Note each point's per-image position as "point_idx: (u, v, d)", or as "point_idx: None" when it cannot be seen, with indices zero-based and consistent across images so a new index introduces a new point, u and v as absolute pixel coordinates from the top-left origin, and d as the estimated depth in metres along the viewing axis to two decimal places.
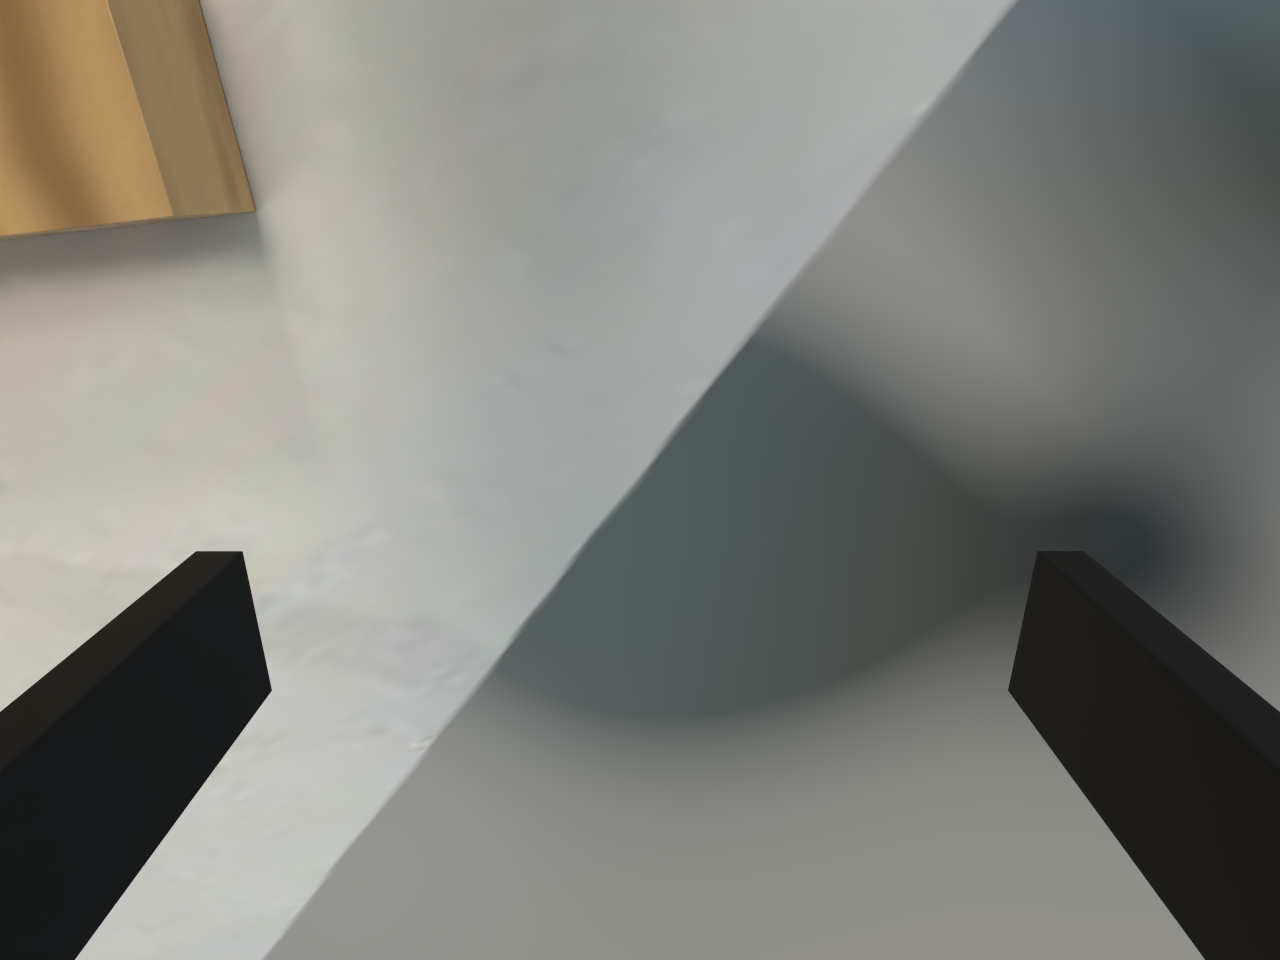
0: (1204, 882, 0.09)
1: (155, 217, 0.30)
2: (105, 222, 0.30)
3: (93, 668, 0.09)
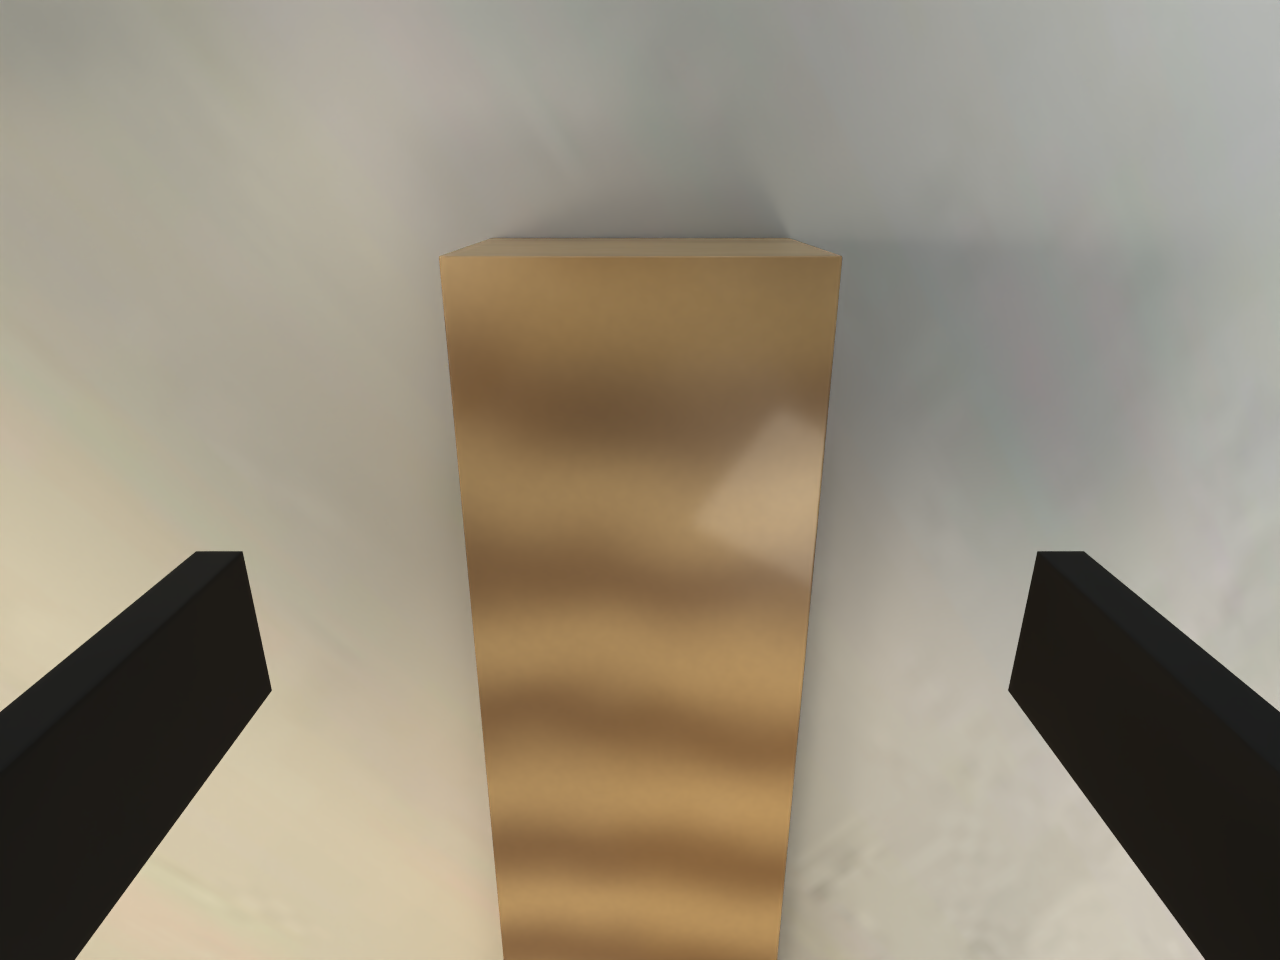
0: (1205, 882, 0.09)
1: (838, 287, 0.19)
2: (829, 368, 0.20)
3: (93, 668, 0.09)
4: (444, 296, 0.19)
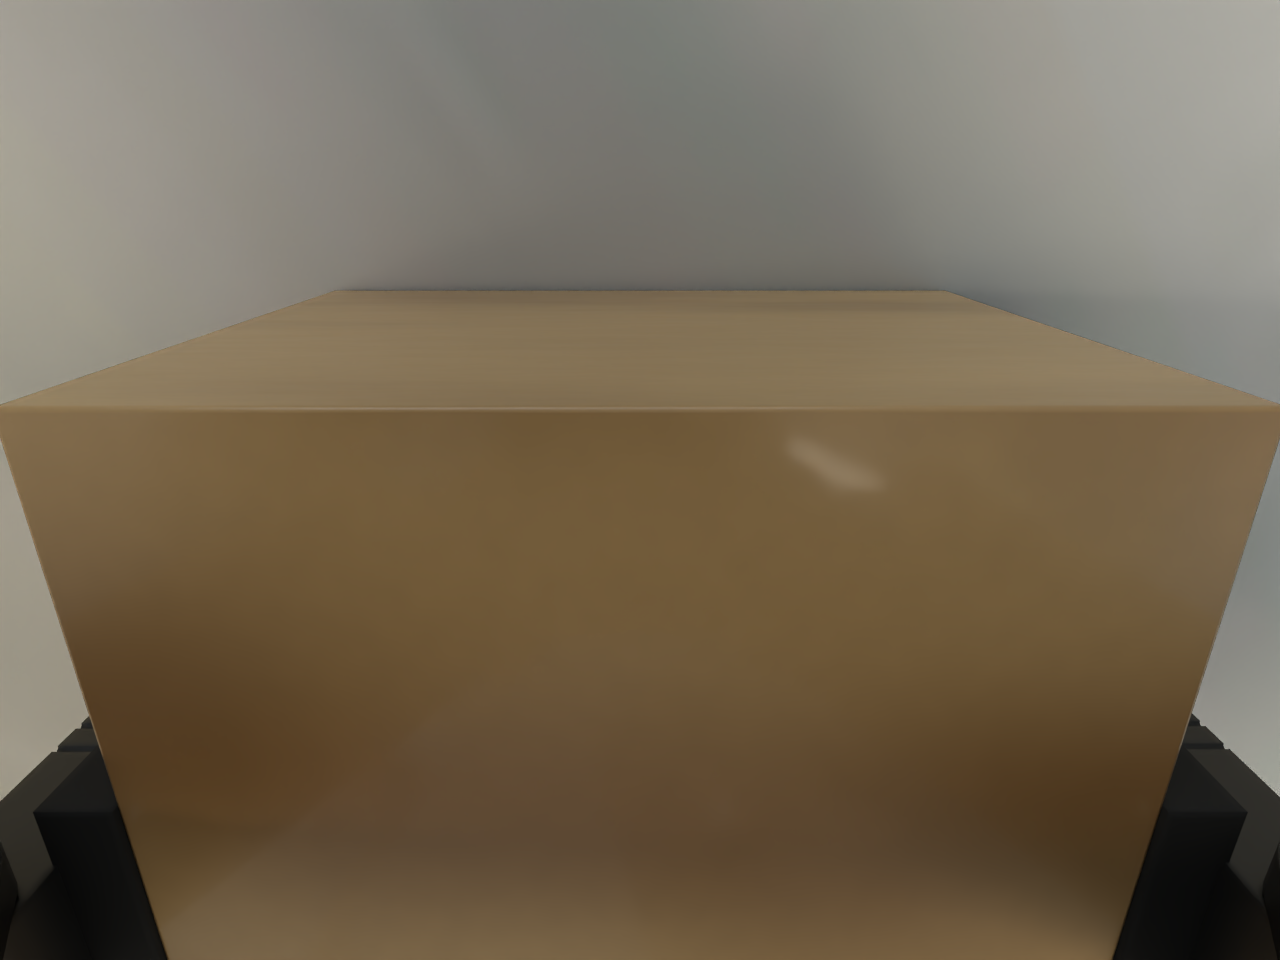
0: None
1: (1254, 497, 0.06)
2: (1186, 708, 0.07)
3: None
4: (31, 525, 0.06)
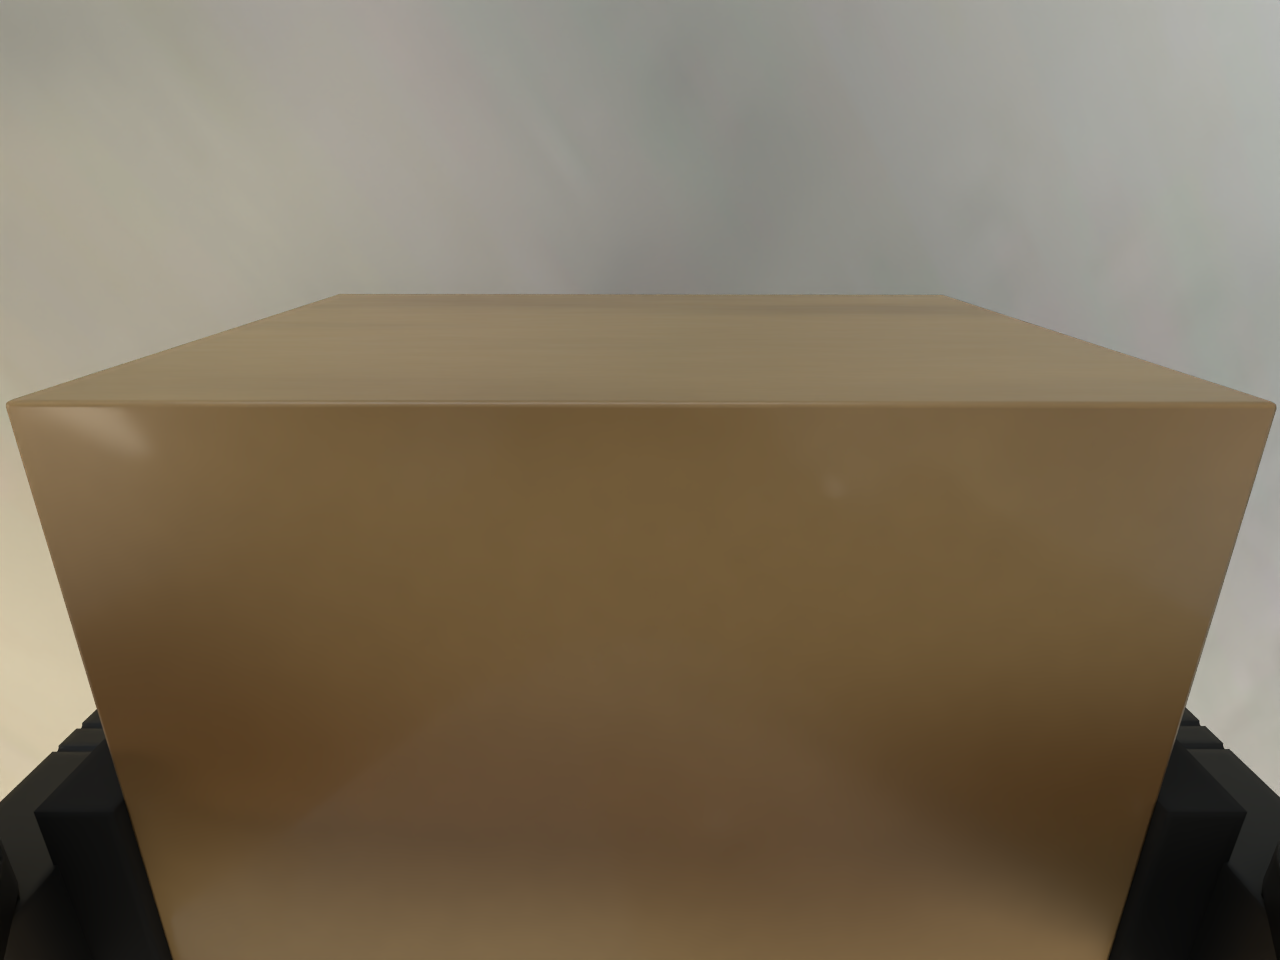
0: None
1: (1244, 493, 0.06)
2: (1179, 703, 0.07)
3: None
4: (42, 518, 0.06)
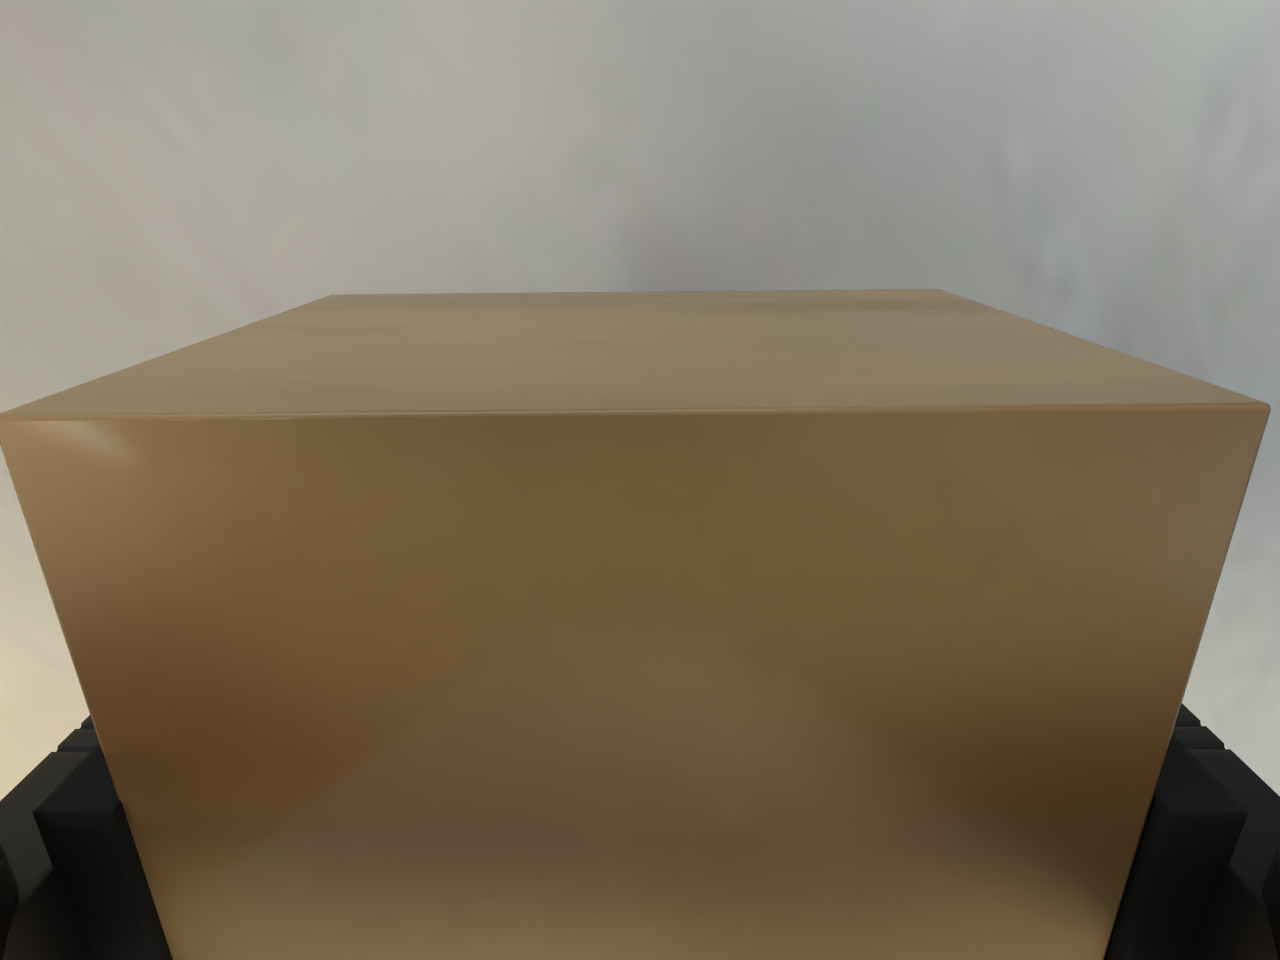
0: None
1: (1238, 494, 0.06)
2: (1174, 703, 0.07)
3: None
4: (31, 532, 0.06)
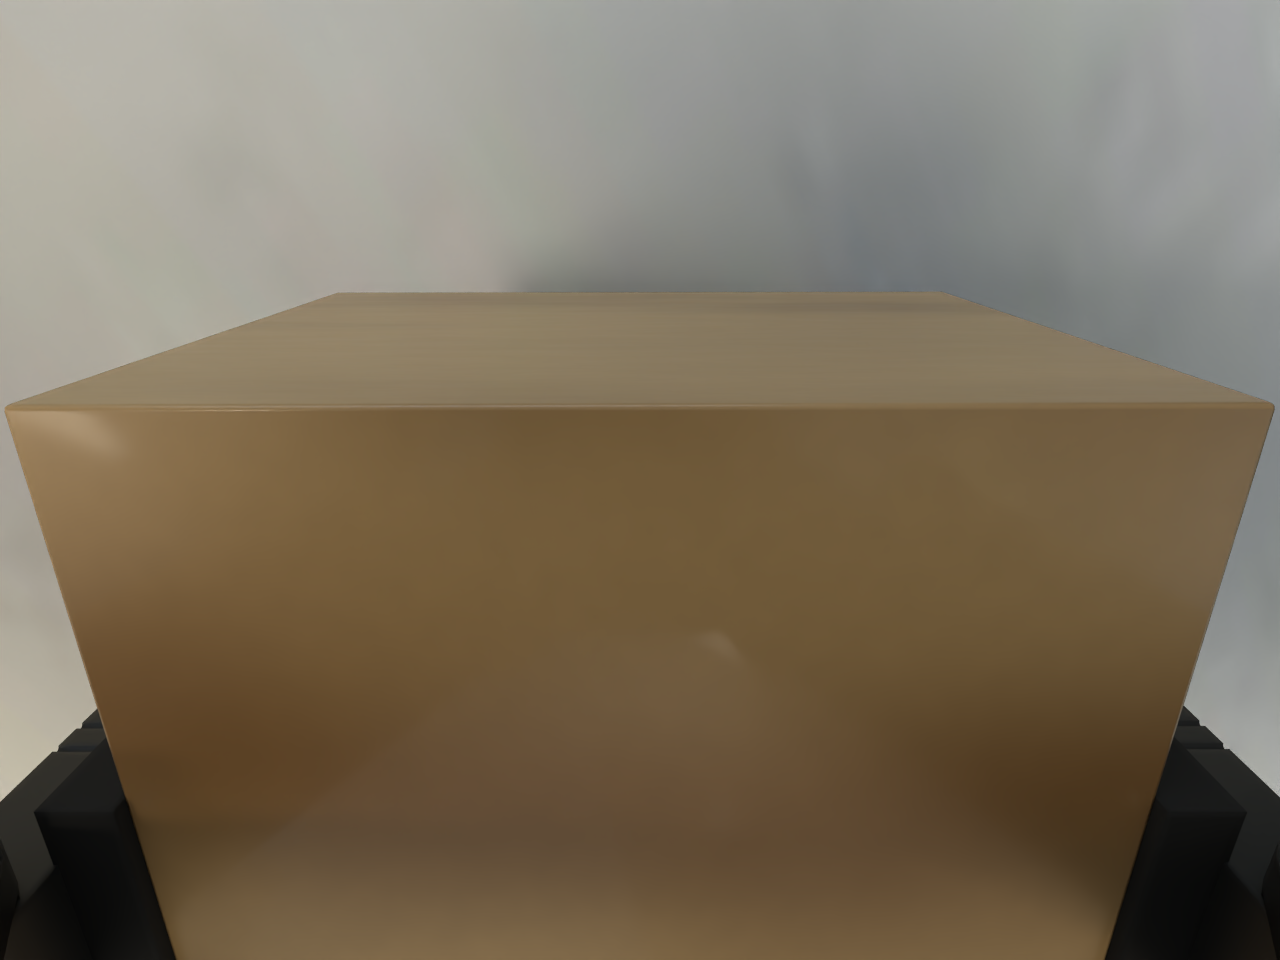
0: None
1: (1242, 493, 0.06)
2: (1177, 702, 0.07)
3: None
4: (41, 522, 0.06)
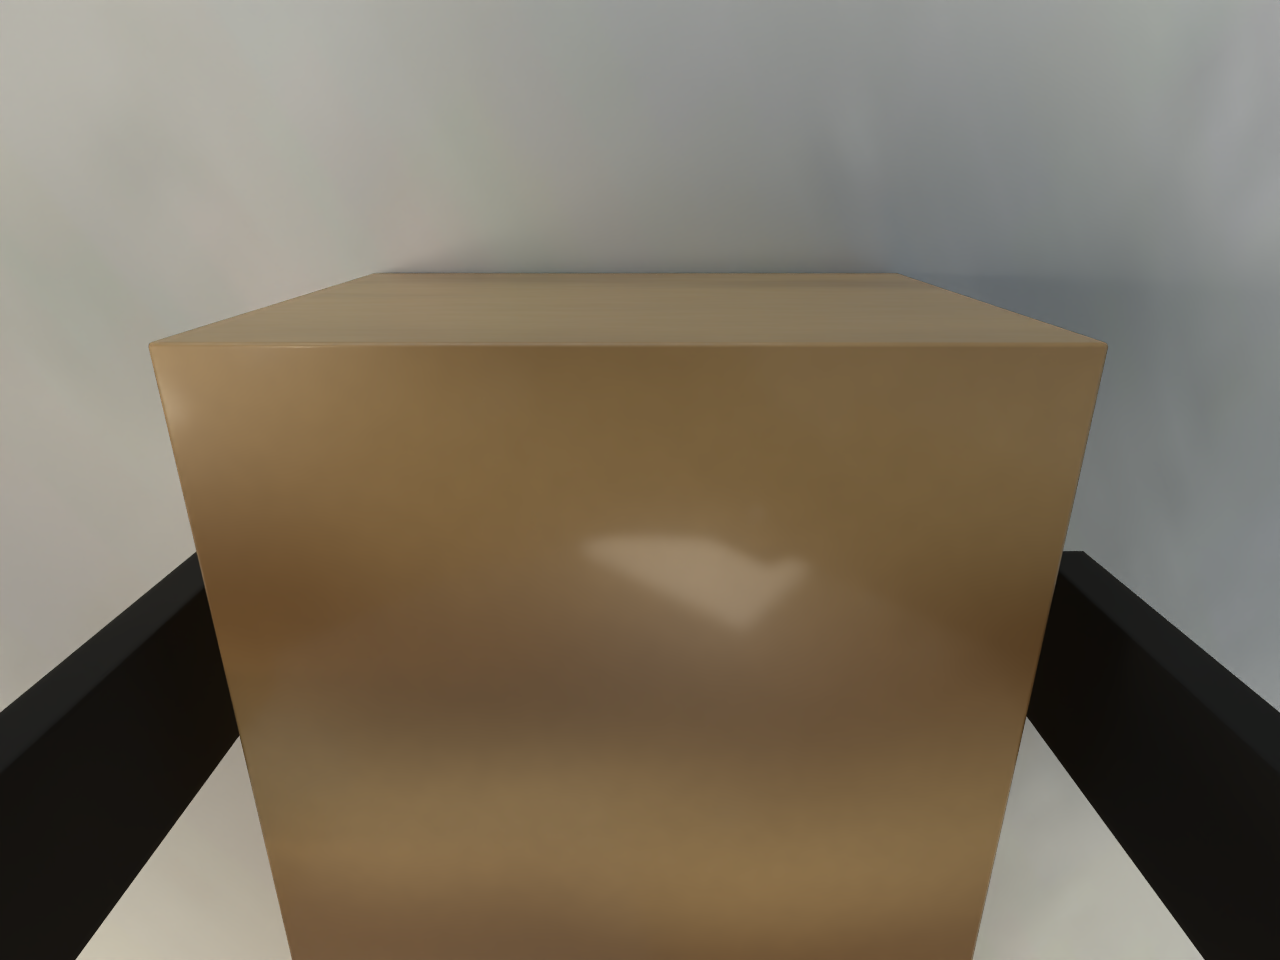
0: (1203, 882, 0.09)
1: (1089, 414, 0.08)
2: (1050, 584, 0.09)
3: (94, 668, 0.09)
4: (170, 434, 0.08)
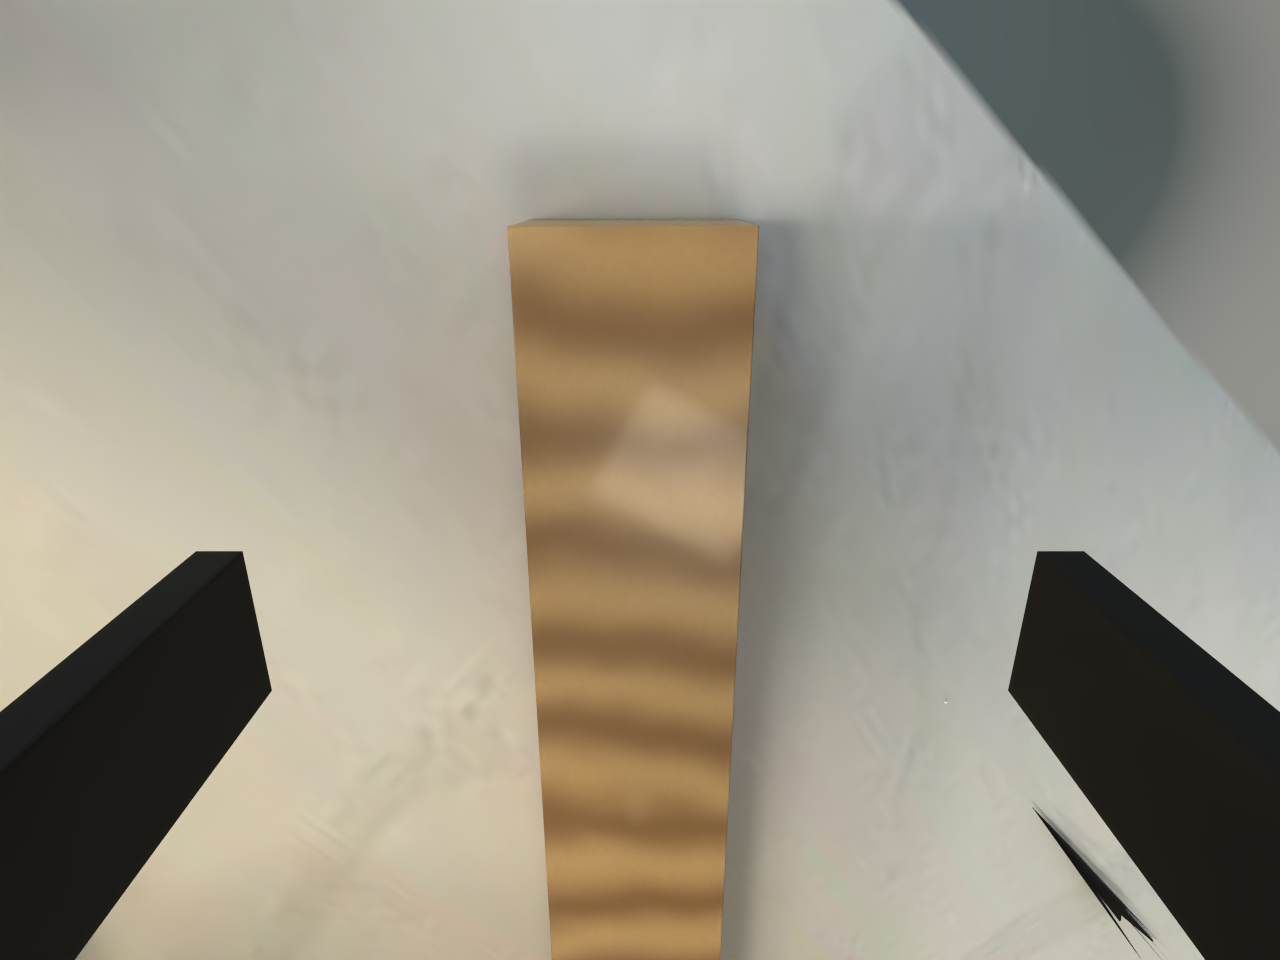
0: (1204, 882, 0.09)
1: (756, 246, 0.30)
2: (753, 298, 0.31)
3: (92, 668, 0.09)
4: (510, 252, 0.30)
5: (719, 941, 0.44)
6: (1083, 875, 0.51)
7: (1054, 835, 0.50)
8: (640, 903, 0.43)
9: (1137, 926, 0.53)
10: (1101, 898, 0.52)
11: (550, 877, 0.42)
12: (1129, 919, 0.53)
